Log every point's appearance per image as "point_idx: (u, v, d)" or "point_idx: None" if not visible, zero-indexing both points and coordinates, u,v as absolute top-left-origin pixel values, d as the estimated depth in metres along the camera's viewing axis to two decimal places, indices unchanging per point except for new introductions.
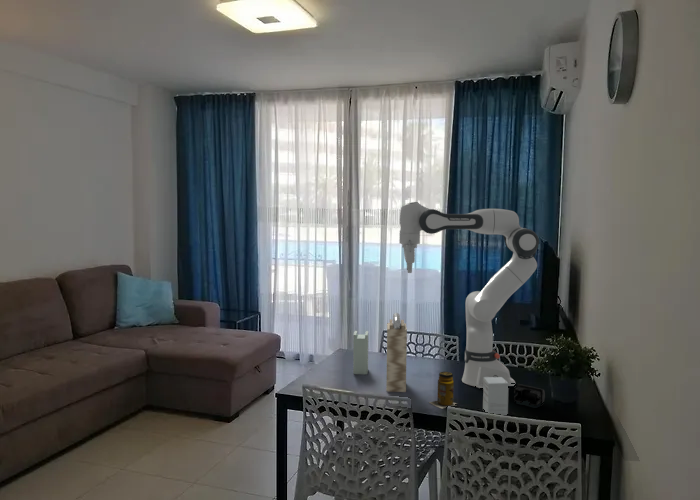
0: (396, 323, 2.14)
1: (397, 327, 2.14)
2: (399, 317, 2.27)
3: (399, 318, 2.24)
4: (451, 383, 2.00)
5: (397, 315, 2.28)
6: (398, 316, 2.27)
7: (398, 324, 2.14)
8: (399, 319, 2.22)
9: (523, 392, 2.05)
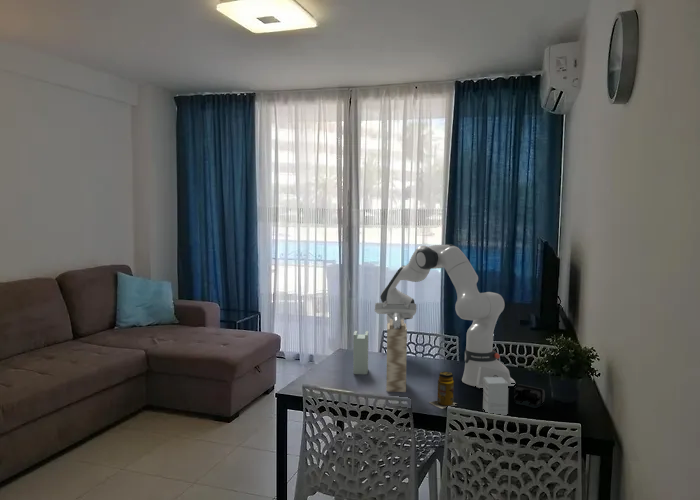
0: (396, 323, 2.14)
1: (397, 327, 2.14)
2: (399, 317, 2.27)
3: (399, 318, 2.24)
4: (451, 383, 2.00)
5: (397, 315, 2.28)
6: (398, 316, 2.27)
7: (398, 324, 2.14)
8: (399, 319, 2.22)
9: (523, 392, 2.05)
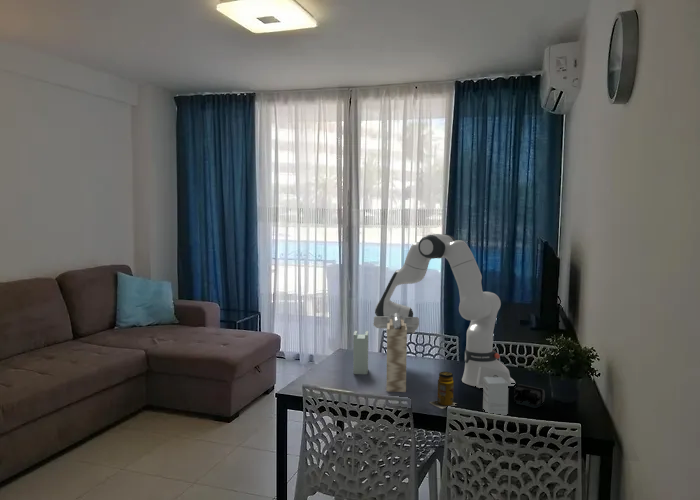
0: (396, 323, 2.14)
1: (397, 327, 2.14)
2: (399, 317, 2.27)
3: (399, 318, 2.24)
4: (451, 383, 2.00)
5: (397, 315, 2.28)
6: (398, 316, 2.27)
7: (398, 324, 2.14)
8: (399, 319, 2.22)
9: (523, 392, 2.05)
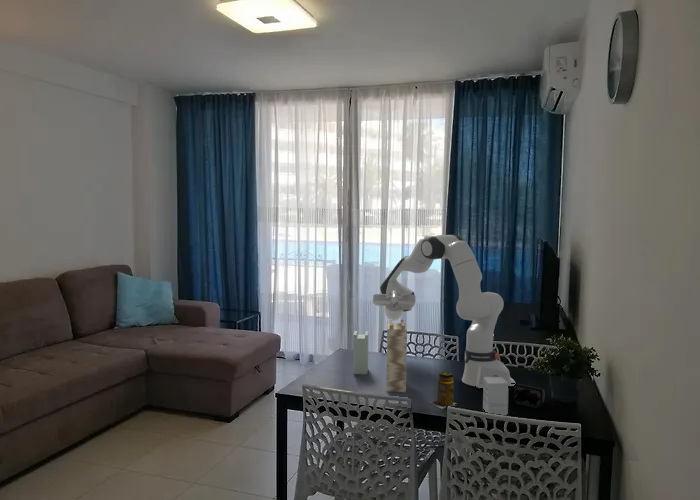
0: (394, 299, 2.29)
1: (395, 303, 2.29)
2: (397, 294, 2.42)
3: (397, 295, 2.39)
4: (451, 383, 2.00)
5: (395, 292, 2.43)
6: (396, 293, 2.42)
7: (396, 300, 2.29)
8: (397, 296, 2.37)
9: (523, 392, 2.05)
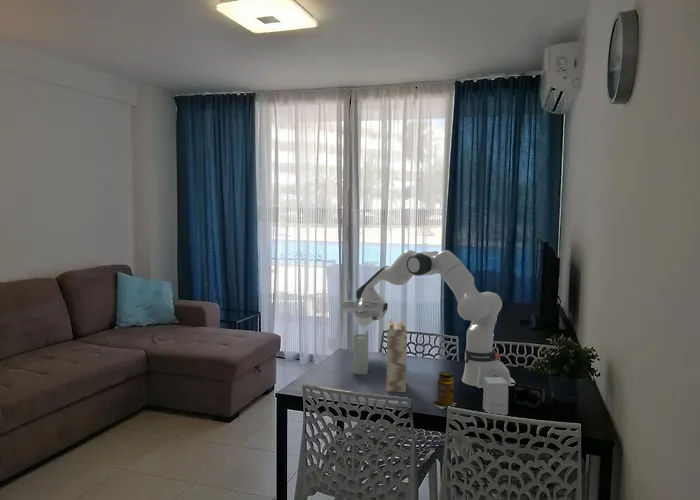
0: (359, 308, 2.31)
1: (360, 311, 2.31)
2: (364, 302, 2.43)
3: (363, 303, 2.41)
4: (451, 383, 2.00)
5: (362, 300, 2.45)
6: (363, 301, 2.43)
7: (361, 309, 2.31)
8: (363, 304, 2.39)
9: (523, 392, 2.05)
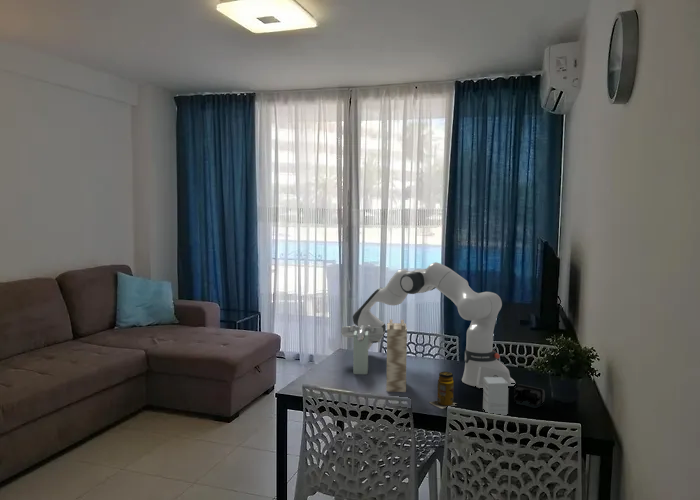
0: (360, 336, 2.32)
1: (360, 339, 2.32)
2: (364, 330, 2.45)
3: (364, 331, 2.42)
4: (451, 383, 2.00)
5: (363, 328, 2.46)
6: (364, 329, 2.45)
7: (361, 337, 2.32)
8: (364, 332, 2.40)
9: (523, 392, 2.05)
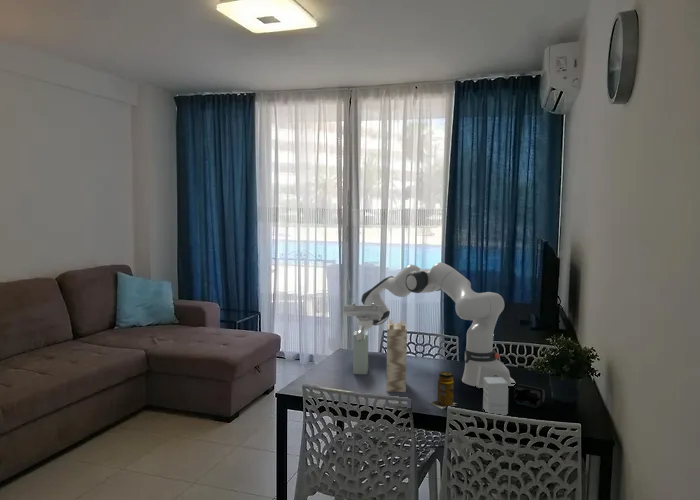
0: (358, 336, 2.32)
1: (359, 339, 2.32)
2: (362, 329, 2.45)
3: (362, 330, 2.42)
4: (451, 383, 2.00)
5: (360, 327, 2.46)
6: (361, 328, 2.45)
7: (360, 336, 2.32)
8: (362, 331, 2.40)
9: (523, 392, 2.05)
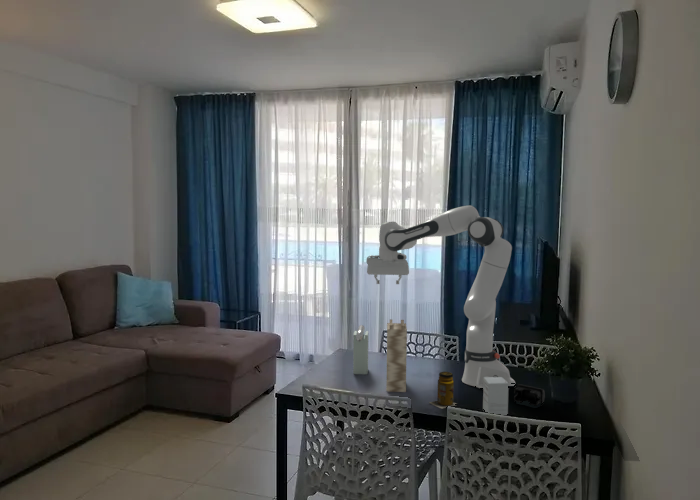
0: (358, 336, 2.32)
1: (359, 339, 2.32)
2: (362, 329, 2.45)
3: (362, 330, 2.42)
4: (451, 383, 2.00)
5: (360, 327, 2.46)
6: (361, 328, 2.45)
7: (360, 336, 2.32)
8: (362, 331, 2.40)
9: (523, 392, 2.05)
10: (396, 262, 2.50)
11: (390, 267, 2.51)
